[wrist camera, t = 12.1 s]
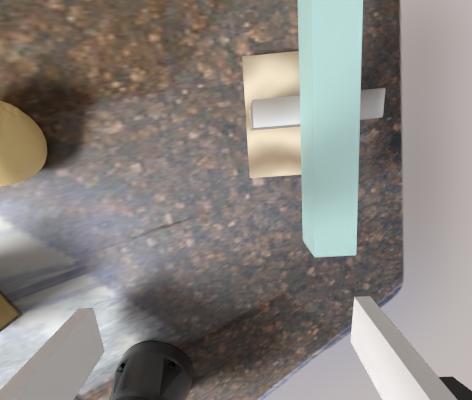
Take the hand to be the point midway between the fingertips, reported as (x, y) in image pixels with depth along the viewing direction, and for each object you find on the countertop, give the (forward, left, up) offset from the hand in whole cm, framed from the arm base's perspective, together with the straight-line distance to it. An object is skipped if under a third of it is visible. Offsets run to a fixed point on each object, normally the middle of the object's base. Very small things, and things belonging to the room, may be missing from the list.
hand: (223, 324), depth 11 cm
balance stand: (+11, -9, -25) cm, 29 cm away
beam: (+11, -9, -13) cm, 19 cm away
